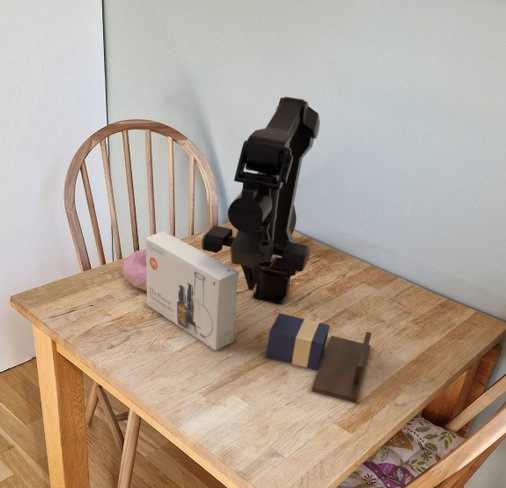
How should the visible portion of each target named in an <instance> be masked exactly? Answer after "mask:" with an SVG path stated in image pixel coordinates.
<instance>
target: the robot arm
mask: <svg viewBox="0 0 506 488" xmlns="http://www.w3.org/2000/svg"><path fill="white" fill-rule="evenodd" d="M320 124H321V121H320V114H319V113H318V112H317V111H316V110H314V109H313V108H312V107H310V105H309V101H307V100H305V99H304V98H297V97H292V96H284V97H280V99H279V102H278V104H277V105H276V109H275V112H274V114H273V115H272V117H271V118H270V120H269V121H268V123H267V125H266V126H265V127H264V128H259V129H256V130H254V131H253V132H252V133H251V134H250V135H249V136H248V138H247V139H246V140H244V141H243V144H242V146H241V151H240V154H239V158H238V163H237V166H236V170H235V175H234V179H233V181H234V182H237V183H242V188H241V191H240V193H239V194H238V195H237V196H236V198H234V199H233V201H232V202H231V203H230V204H229V207H228V209H227V217H228V221H229V223H230V224H231V226H232V227H233V228H234V229H236V230H237V232H236V235H235V236H234V235H233V234H234V231H233V229H232V228H229V227H223V226H220V225H213V226H211V228H209V229H208V230H207V231H206V232H205V233H204V234H203V236H202V239H201V249H202V250H203V251H206V252H211V253H214V254H217V253H219V252H221V251H222V250H223V246H224V247H228V248H230V262H231V263H232V264H233V265H235V266H238V265H240V268H241V269H242V272H243V274H244V279H245V282H246V285H247V288H248V289H247V290H249V291H253V290H254V289H255V291H254V292H253V295H252V298H254V299H257V300H261V301H266V302H269V303H274V304H278V305H281V304H282V303H283V302H284V300H285V299H286V298H287V296H288V295H289V293H290V292H289V291H290V284H291V277H294V276H296V273H297V272H303V271H304V270H305V267H306V265H307V263H308V262H309V260H310V254H311V249H310V248H309V246H308V245H307V244H302V243H297V242H295V241H294V237H293V236H292V235H293V234H292V235H291V233H290V230H289V227H290V222H291V216H292V211H293V206H294V207H295V201H296V200H295V199H296V194H297V189H298V183H299V179H300V172H301V168H302V163H303V159H304V157H305V156H306V155H307V154H308V152H309V151H310V150H311V149H312V148H313V146H314V141H315V140H316V139H317V138H318V136H319V131H320ZM244 170H246V171H244Z"/></svg>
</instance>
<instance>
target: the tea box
mask: <svg viewBox="0 0 506 488" xmlns="http://www.w3.org/2000/svg"><path fill="white" fill-rule="evenodd" d="M330 326H331V325H330V324H328V323H327V324H326V323H322V322H318V321H313V320H310V319H307V318H301V317H297V316H293V315H290V314H285V313H281V312H279V313H278V314H277V316H276V318H275V320H274V321H273V324H272V326H271V327H270V330H269V332H268V339H267V346H266V355H265V358H266V359H270V360H271V359H272V360H275V361H278V362H283V363H287V364H291V365H294V366H297V367H302V368H306V369H310V370H314V371H318V370H319V368H320V365H321V362H322V360H323V357H324V354H325V351H326V348H327V342H328V336H329V331H330Z"/></svg>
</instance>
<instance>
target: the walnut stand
mask: <svg viewBox="0 0 506 488" xmlns="http://www.w3.org/2000/svg"><path fill="white" fill-rule="evenodd" d="M371 336H372V332H369V331H366V332H365V335H364V339H363V342H359V341H356V340H352V339H347V338H344V337H339V336H335V335H331V336H330V338H329V341H328V344H327V345H326V348H325V351H324V354H323V357H322V360H321V362H320V365H319V368H318V370H317V373H316V376H315V379H314V382H313V384H312V387H311V392H313V393H317V394H320V395H325V396H327V397H332V398H336V399H339V400H344V401H347V402H351V403H355V404H357V401H358V397H359V394H360V389H361V386H362V383H363V382H362V381H363V378H364V374H365V369H366V365H367V362H368V357H369V354H370V351H371V346H372V345H371V344H370V340H371Z"/></svg>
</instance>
